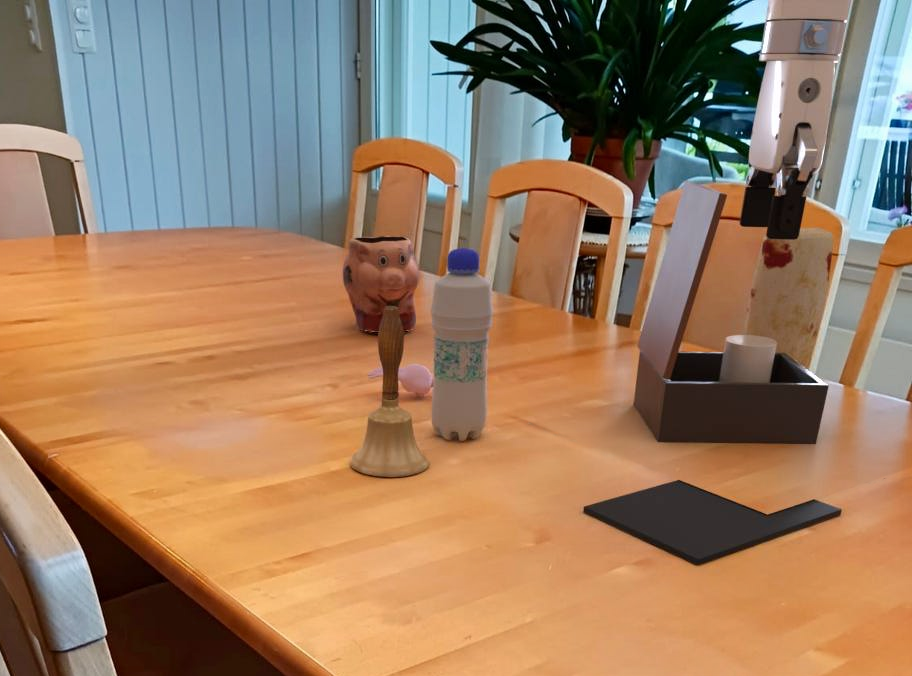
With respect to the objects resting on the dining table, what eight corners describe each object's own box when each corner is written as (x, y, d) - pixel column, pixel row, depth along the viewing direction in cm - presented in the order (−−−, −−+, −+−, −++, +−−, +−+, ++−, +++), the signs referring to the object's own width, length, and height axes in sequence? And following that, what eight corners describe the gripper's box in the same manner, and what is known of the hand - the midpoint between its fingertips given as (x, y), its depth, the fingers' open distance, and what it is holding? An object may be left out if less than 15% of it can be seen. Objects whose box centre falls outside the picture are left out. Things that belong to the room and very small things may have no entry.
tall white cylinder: (733, 413, 117) (747, 332, 112) (771, 425, 113) (787, 342, 108) (702, 420, 114) (715, 338, 110) (740, 433, 110) (755, 348, 106)
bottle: (493, 442, 109) (502, 252, 99) (434, 445, 108) (437, 253, 98) (481, 424, 114) (488, 243, 104) (424, 427, 113) (426, 243, 103)
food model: (742, 393, 128) (771, 229, 118) (726, 379, 134) (752, 222, 124) (814, 393, 128) (849, 230, 118) (796, 379, 134) (827, 223, 124)
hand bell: (413, 448, 107) (414, 296, 99) (440, 473, 100) (443, 312, 92) (340, 455, 104) (335, 301, 96) (363, 481, 97) (359, 317, 90)
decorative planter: (328, 317, 165) (325, 229, 158) (395, 313, 169) (395, 227, 162) (365, 343, 149) (363, 246, 142) (439, 337, 153) (440, 243, 146)
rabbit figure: (473, 397, 129) (362, 383, 125) (482, 352, 126) (369, 336, 123) (484, 410, 124) (369, 396, 120) (494, 363, 121) (376, 347, 117)
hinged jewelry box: (773, 412, 121) (785, 352, 117) (814, 450, 108) (828, 385, 104) (632, 410, 120) (639, 350, 117) (656, 448, 108) (665, 383, 104)
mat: (723, 471, 101) (724, 466, 101) (840, 515, 92) (842, 509, 91) (582, 512, 91) (583, 506, 91) (697, 565, 81) (698, 559, 81)
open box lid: (692, 181, 108) (685, 180, 107) (727, 194, 95) (719, 193, 95) (643, 347, 117) (636, 346, 116) (669, 379, 104) (662, 378, 104)
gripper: (874, 42, 88) (831, 245, 96) (809, 48, 103) (776, 223, 111) (791, 40, 87) (755, 243, 96) (738, 46, 102) (711, 221, 111)
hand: (767, 232), depth 104 cm, fingers open, 9 cm apart
